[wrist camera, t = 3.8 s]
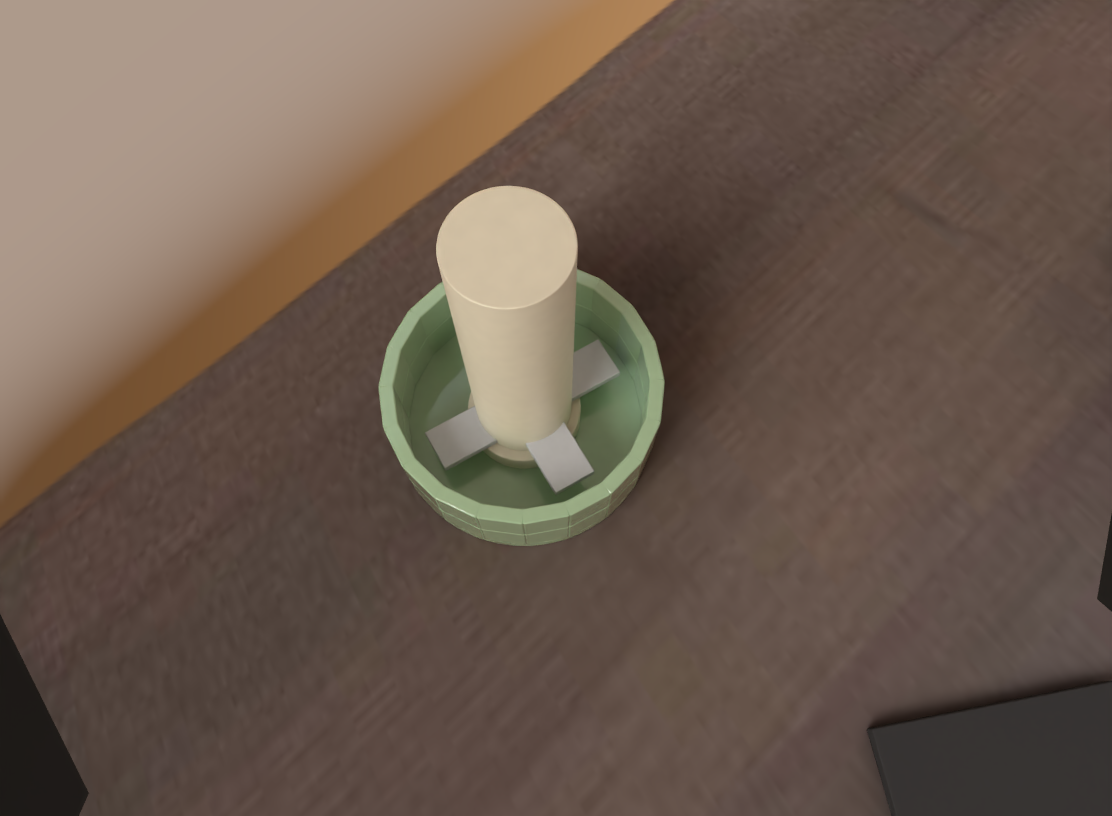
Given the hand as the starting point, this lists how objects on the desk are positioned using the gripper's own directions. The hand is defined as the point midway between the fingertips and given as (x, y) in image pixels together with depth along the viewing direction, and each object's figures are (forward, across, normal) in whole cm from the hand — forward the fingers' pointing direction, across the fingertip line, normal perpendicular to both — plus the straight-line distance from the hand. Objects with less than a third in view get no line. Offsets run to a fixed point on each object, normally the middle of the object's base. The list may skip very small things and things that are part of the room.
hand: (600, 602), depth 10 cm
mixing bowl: (+26, 0, -10) cm, 28 cm away
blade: (+26, 0, -10) cm, 28 cm away
